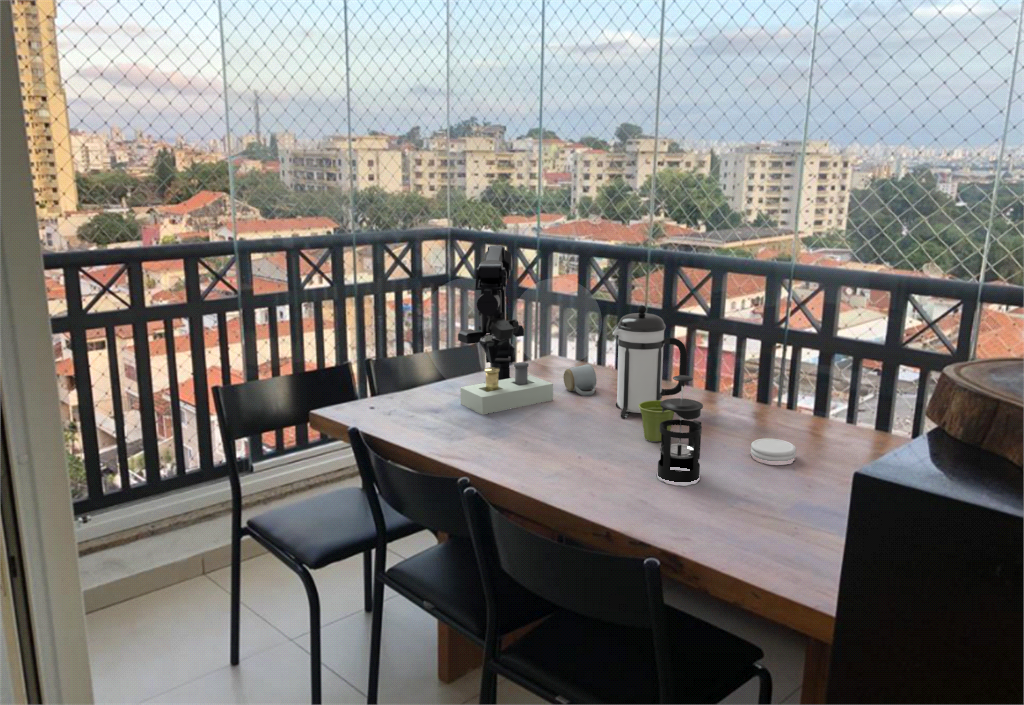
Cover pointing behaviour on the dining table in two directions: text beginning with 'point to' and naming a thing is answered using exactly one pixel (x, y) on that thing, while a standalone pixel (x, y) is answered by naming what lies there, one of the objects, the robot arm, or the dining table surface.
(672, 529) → the dining table surface
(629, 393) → the coffee press
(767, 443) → the coaster
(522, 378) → the graphite plug
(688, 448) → the french press
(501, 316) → the robot arm
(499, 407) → the block
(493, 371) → the brass plug
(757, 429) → the dining table surface
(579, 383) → the ceramic mug
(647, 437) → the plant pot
